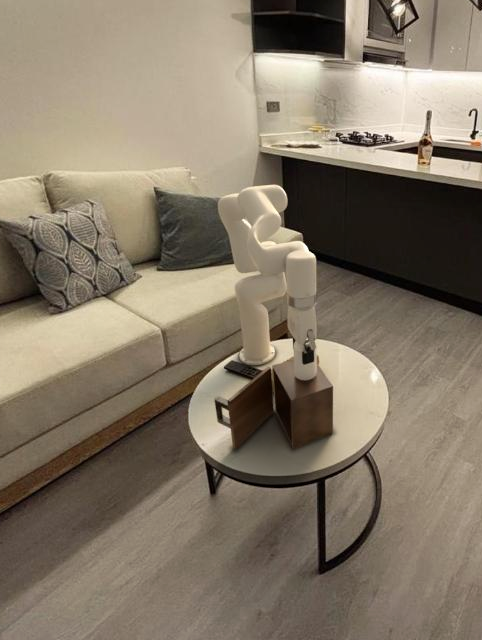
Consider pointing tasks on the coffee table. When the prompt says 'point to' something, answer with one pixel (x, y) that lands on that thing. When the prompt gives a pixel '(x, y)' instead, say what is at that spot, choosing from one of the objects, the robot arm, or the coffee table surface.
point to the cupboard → (302, 404)
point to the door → (247, 407)
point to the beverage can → (302, 370)
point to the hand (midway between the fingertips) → (303, 355)
